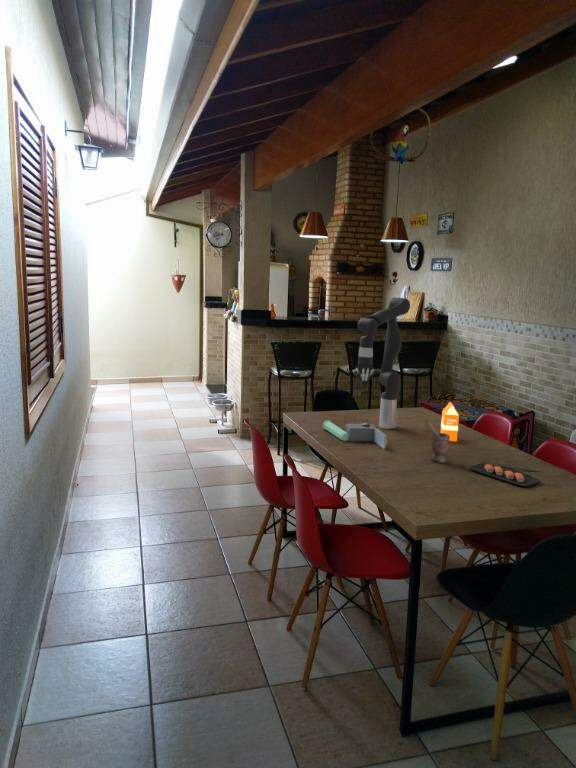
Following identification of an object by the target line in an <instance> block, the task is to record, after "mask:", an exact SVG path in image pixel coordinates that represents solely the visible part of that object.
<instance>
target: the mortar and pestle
mask: <svg viewBox="0 0 576 768" xmlns="http://www.w3.org/2000/svg"><path fill="white" fill-rule="evenodd" d="M424 423H425V426H426V427H427V428H428V429H429V430H430V432H431V434H430V448H431V451H433V452H434V453H433V455H431V457H430V461H431V462H433V463H438V464H439V463H440V464H443V463H447V462H448V461H447V458H446V456H445V453H446V452H447V451H448V448H449V446H450V441H449V438H450V435H448V434H446V433H440V432H437V430H436V428H435V426H434V424H433V422H432V421H431V419H429V418H428V419H426V420H425V421H424Z"/></svg>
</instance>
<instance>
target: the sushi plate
mask: <svg viewBox="0 0 576 768" xmlns="http://www.w3.org/2000/svg"><path fill="white" fill-rule="evenodd" d="M496 464H498V465H495V464H492V463H487V462H482V463H477V464H473V465H471V466H470V465H469V467H468V469H469V470H471V471H474V472H476V473H480V474H484V475H486V476H488V477H489V476H490V477H492V478H494V479H498V480H500V481H504V482H507V483H510V484H514V485H516V486H520V487H530V486H532V485H536V484H539V483H540V482H541V480H540V479H539V478H537V477H534V476H532V475H530V474H527V473H524V472H523V471H526V472H534V473H542V470H541V471H540V470H534V469H533V470H532V469H525V468H517V467H509V466H506V465H504V464H501V463H499V462H497V463H496ZM519 470H521V471H519Z"/></svg>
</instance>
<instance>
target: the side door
mask: <svg viewBox="0 0 576 768" xmlns="http://www.w3.org/2000/svg"><path fill="white" fill-rule="evenodd" d="M373 442H374V443H376V445H378V446H379V447H381V448H382V449H383V450H386V447H387V445H388V438H387V435H386V434H385V433H384V432H383V431H381V430H379V429H378V428H377V427H375V430H374V441H373Z"/></svg>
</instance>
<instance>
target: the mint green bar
mask: <svg viewBox="0 0 576 768" xmlns="http://www.w3.org/2000/svg"><path fill="white" fill-rule="evenodd" d="M322 429H324V430H325V431H328V432H329V433H331V434H332V435H333V436H335V437H336V438H338V439H339V440H341V441H342V440H343V441H342V442H347V441H349V440H348V439H349V435H348V433H347V432H346V430H344V429H342V428H340V427H339V426H337V425H336V424H335V423H333V422H332V421H331V420H325V421H324V422H323V423H322Z"/></svg>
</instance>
